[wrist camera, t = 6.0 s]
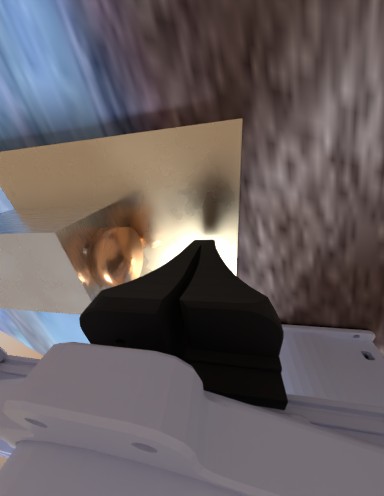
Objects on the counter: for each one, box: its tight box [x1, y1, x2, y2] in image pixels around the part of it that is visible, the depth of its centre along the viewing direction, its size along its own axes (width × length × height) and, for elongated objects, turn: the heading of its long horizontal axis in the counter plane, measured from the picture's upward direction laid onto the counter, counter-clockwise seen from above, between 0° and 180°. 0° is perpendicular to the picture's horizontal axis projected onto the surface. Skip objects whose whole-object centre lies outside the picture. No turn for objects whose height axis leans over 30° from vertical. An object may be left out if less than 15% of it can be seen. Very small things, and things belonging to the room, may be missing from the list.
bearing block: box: [0, 118, 242, 314], centre depth 12 cm, size 18×14×6 cm
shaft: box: [82, 227, 143, 287], centre depth 13 cm, size 11×4×4 cm, turn 96°
